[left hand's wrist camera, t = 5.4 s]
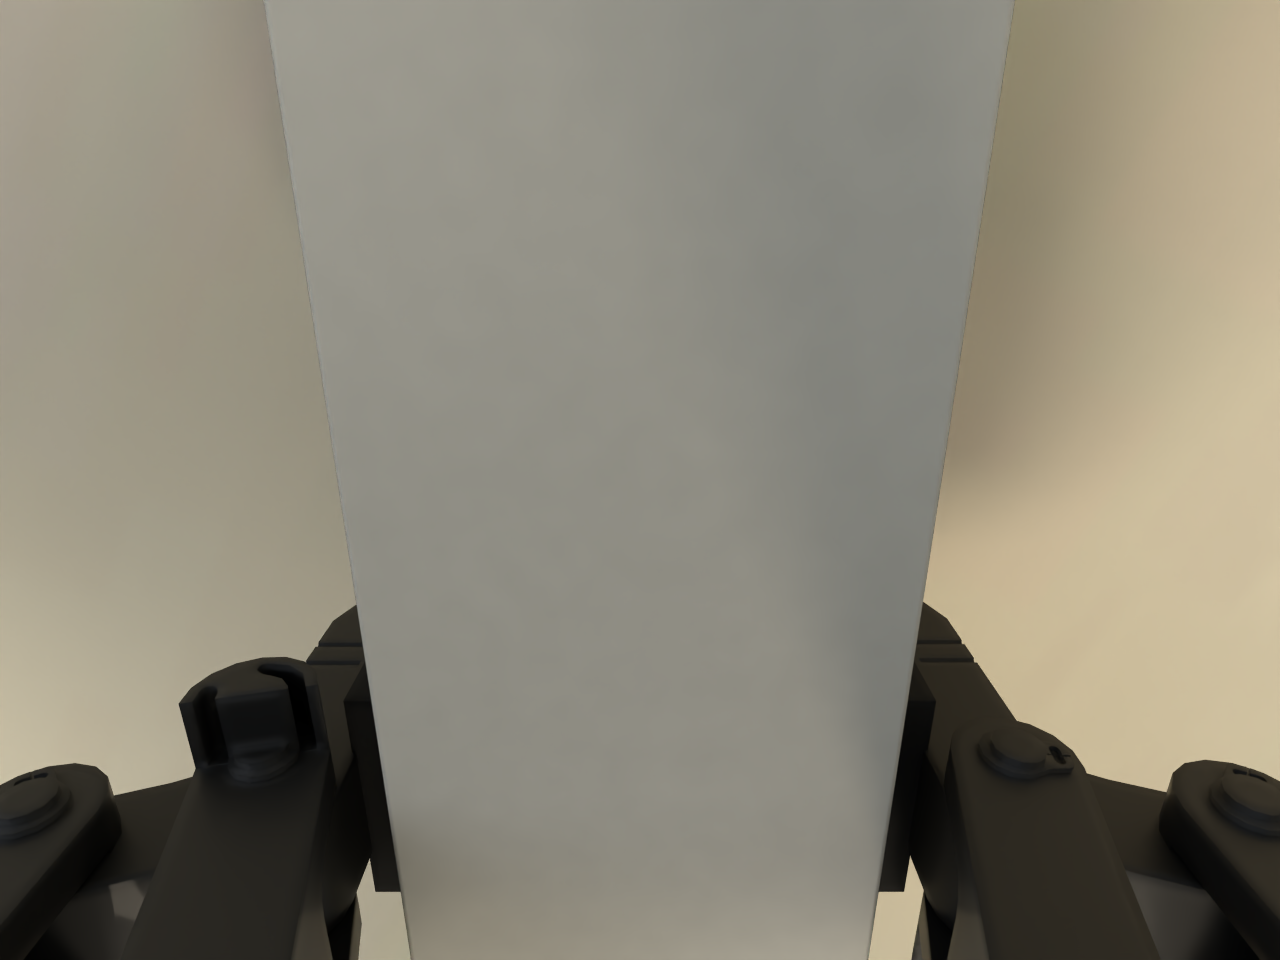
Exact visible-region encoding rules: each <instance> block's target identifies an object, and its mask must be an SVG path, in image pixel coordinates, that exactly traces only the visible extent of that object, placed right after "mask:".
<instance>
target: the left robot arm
mask: <svg viewBox="0 0 1280 960" xmlns="http://www.w3.org/2000/svg"><path fill="white" fill-rule="evenodd" d="M179 707H180V711H181V714H182V718H183V722H184V726H185V729H186V733H187V737H188V741H189V745H190V748H191V752H192V756H193V760H194V763H195V767H196V770H195V772H194V775H193V777H190V778H187V779H183V780H180V781H176V782H173V783H169V784H164V785H160V786H155V787H151V788H146V789H142V790H137V791H133V792H128V793H124V794H119V795H115V796H114V795H113V792H112V789H111V785H110V782H109V779H108V776H107V775H105V774H104V773H103V772H102V771H101V770H99V769H98V768H97V767H95V766H89V765H83V764H77V763H73V764H65V765H57V766H49V767H45V768H42V769H39V770H35V771H33V772H28V773H26V774H23V775H20V776H17V777H15V778H13V779H11V780H10V781H8V782H6V783H4V784H2V785H0V960H358V956H359V945H360V935H361V925H362V923H361V916H360V910H359V904H358V898H357V893H356V892H357V889H358V887H359V884H360V882H361V879H362V877H363V874H364V871H365V869H366V866H367V864H368V861H369V859H370V862H371V867H372V873H373V879H374V885H375V891H376V892H401V890H400V883H399V877H398V870H397V864H396V857H395V851H394V844H393V838H392V831H391V825H390V818H389V812H388V805H387V799H386V792H385V786H384V779H383V773H382V766H381V760H380V753H379V747H378V740H377V734H376V727H375V721H374V714H373V708H372V701H371V695H370V688H369V682H368V675H367V669H366V662H365V656H364V649H363V643H362V636H361V630H360V623H359V617H358V610H357V605H355V606H354V607H352V608H351V609H350V610H348V611H347V612H345V613H344V614H342V615H341V616H340V617H338V618H337V619H335V620H334V621H333V622H332V623H331V625H330V626H329V628H328V629H327V631H326V632H325V634H324V635H323V637H322V638H321V640H320V641H319V645H318V647H315V649H314V650H313V651H312V653H311V654H310V656H309V657H308V659H307V660H306V662H304V661H300V660H296V659H292V658H288V657H269V658H259V659H254V660H250V661H245V662H241V663H236V664H234V665H232V666H229V667H227V668H224V669H222V670H220V671H217V672H215V673H213V674H211V675H209V676H208V677H206V678H205V679H203V680H202V681H201V682H199V683H198V684H196V685H195V686H193V687H192V688H191V689H190V690H189V691H188V693H187V694H186V695H185V696H184V698H183V699H182V700H181V701H180V703H179ZM910 856H911V859H912V861H913V864H914V866H915V869H916V871H917V874H918V876H919V879H920V881H921V884H922V886H923V889H924V893H923V898H922V904H921V909H920V915H919V920H918V925H917V931H916V936H915V942H914V947H913V953H912V959H911V960H1280V781H1278V780H1276V779H1274V778H1272V777H1270V776H1268V775H1266V774H1264V773H1262V772H1259V771H1256V770H1254V769H1251V768H1250V769H1249V768H1246V767H1244V766H1240V765H1237V764H1234V763H1227V762H1219V761H1211V760H1201V761H1195V762H1189V763H1184V764H1183V765H1182V766H1181V767H1179V768H1178V769H1177V770H1176V771H1175V772H1173V774H1172V777H1171V780H1170V783H1169V787H1168V790H1167V792H1162V791H1158V790H1153V789H1149V788H1144V787H1139V786H1135V785H1130V784H1126V783H1121V782H1117V781H1112V780H1108V779H1104V778H1101V777H1097V776H1094V775H1091V774H1087V773H1086V771H1085V768H1084V767H1083V765H1082V764H1081V762H1080V761H1079V759H1078V758H1077V756H1076V755H1075V753H1074V752H1073V751H1072V750H1071V749H1070V748H1069V747H1067V746H1066V745H1065V744H1063V743H1062V742H1061V741H1060V740H1058V739H1057V738H1056V737H1055V736H1053V735H1051V734H1049V733H1047V732H1045V731H1043V730H1041V729H1039V728H1036V727H1034V726H1032V725H1030V724H1027V723H1023V722H1019V721H1016V719H1015V718H1014V716H1013V715H1012V713H1011V712H1010V710H1009V709H1008V707H1007V706H1006V705H1005V703H1004V702H1003V700H1002V699H1001V697H1000V696H999V694H998V693H997V691H996V690H995V688H994V687H993V685H992V684H991V683H990V681H989V680H988V678H987V677H986V675H985V674H984V672H983V671H982V669H981V668H980V666H979V665H978V663H974V658H973V656H972V655H971V653H970V652H969V650H968V649H967V647H966V646H965V644H962V642H961V639H960V637H959V636H958V634H957V633H956V631H955V630H954V628H953V627H952V625H951V624H950V622H949V621H948V619H947V618H945V617H944V616H943V615H941V614H940V613H938V612H937V611H935V610H934V609H933V608H931V607H930V606H928V605H927V604H925V603H924V602H923V604H922V611H921V617H920V624H919V630H918V637H917V643H916V650H915V656H914V663H913V669H912V676H911V683H910V689H909V696H908V702H907V709H906V715H905V722H904V728H903V735H902V741H901V748H900V754H899V761H898V767H897V774H896V781H895V787H894V794H893V800H892V807H891V813H890V820H889V826H888V833H887V839H886V846H885V852H884V859H883V865H882V872H881V878H880V885H879V892H904V888H905V882H906V877H907V871H908V865H909V859H910Z"/></svg>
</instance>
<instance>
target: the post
mask: <svg viewBox="0 0 1280 960" xmlns="http://www.w3.org/2000/svg"><path fill="white" fill-rule="evenodd" d="M1014 3H1015V0H264V6H265V12H266V19H267V25H268V32H269V38H270V45H271V51H272V58H273V64H274V71H275V77H276V84H277V90H278V97H279V103H280V110H281V116H282V123H283V129H284V136H285V142H286V149H287V155H288V162H289V168H290V175H291V181H292V188H293V194H294V201H295V207H296V214H297V220H298V227H299V233H300V240H301V246H302V253H303V259H304V266H305V272H306V279H307V285H308V292H309V298H310V305H311V311H312V318H313V324H314V331H315V337H316V344H317V350H318V357H319V363H320V370H321V376H322V383H323V389H324V396H325V402H326V409H327V415H328V422H329V428H330V435H331V441H332V448H333V454H334V461H335V467H336V474H337V480H338V487H339V493H340V500H341V506H342V513H343V519H344V526H345V532H346V539H347V545H348V552H349V558H350V565H351V571H352V578H353V584H354V591H355V597H356V604H357V610H358V617H359V623H360V630H361V636H362V643H363V649H364V656H365V662H366V669H367V675H368V682H369V688H370V695H371V701H372V708H373V714H374V721H375V727H376V734H377V740H378V747H379V753H380V760H381V766H382V773H383V779H384V786H385V792H386V799H387V805H388V812H389V818H390V825H391V831H392V838H393V844H394V851H395V857H396V864H397V870H398V877H399V883H400V890H401V896H402V903H403V909H404V916H405V922H406V929H407V935H408V942H409V948H410V955H411V960H868V957H869V950H870V944H871V937H872V931H873V924H874V918H875V911H876V905H877V898H878V892H879V885H880V878H881V872H882V865H883V859H884V852H885V846H886V839H887V833H888V826H889V820H890V813H891V807H892V800H893V794H894V787H895V781H896V774H897V767H898V761H899V754H900V748H901V741H902V735H903V728H904V722H905V715H906V709H907V702H908V696H909V689H910V683H911V676H912V669H913V663H914V656H915V650H916V643H917V637H918V630H919V624H920V617H921V611H922V604H923V598H924V591H925V585H926V578H927V571H928V565H929V558H930V552H931V545H932V539H933V532H934V526H935V519H936V513H937V506H938V500H939V493H940V487H941V480H942V474H943V467H944V460H945V454H946V447H947V441H948V434H949V428H950V421H951V415H952V408H953V402H954V395H955V389H956V382H957V376H958V369H959V362H960V356H961V349H962V343H963V336H964V330H965V323H966V317H967V310H968V304H969V297H970V291H971V284H972V278H973V271H974V264H975V258H976V251H977V245H978V238H979V232H980V225H981V219H982V212H983V206H984V199H985V193H986V186H987V180H988V173H989V167H990V160H991V153H992V147H993V140H994V134H995V127H996V121H997V114H998V108H999V101H1000V95H1001V88H1002V82H1003V75H1004V69H1005V62H1006V55H1007V49H1008V42H1009V36H1010V29H1011V23H1012V16H1013V10H1014Z"/></svg>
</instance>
